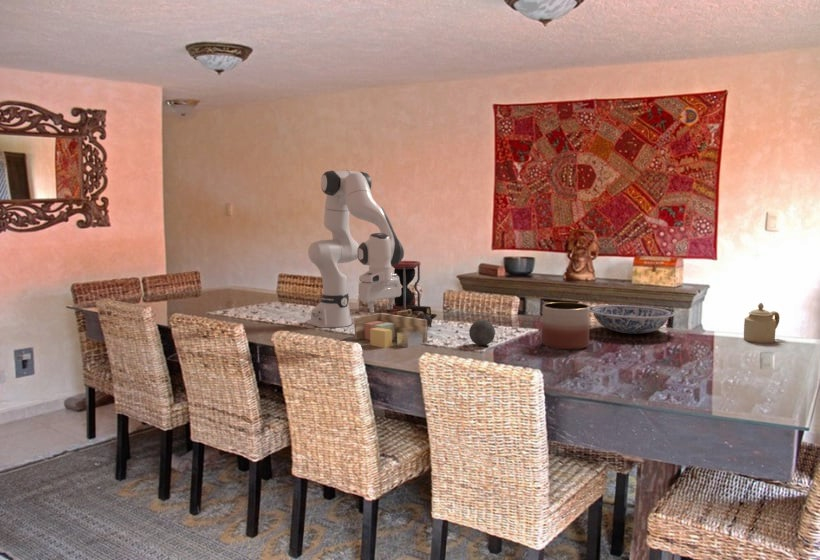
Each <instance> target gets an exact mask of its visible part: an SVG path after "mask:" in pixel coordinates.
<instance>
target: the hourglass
mask: <svg viewBox="0 0 820 560" xmlns="http://www.w3.org/2000/svg"><path fill="white" fill-rule="evenodd" d="M391 266H392V269H394V270H393V274H397V275H398V276H399V280H400V284H401V296H400V297H395V300H394V304H393V305H392V306H393V308H392V309H390V310H389V309H388V310H389V312H390V313H393V312H396V311H397V309H403V310H406V306H409V305H411V306H421V293H420V291H419V289H418V284H419V282H420V280H421V262H420V261H415V260H401V261H400V262H399V263H398V264H397V265H391ZM416 268H417V280H416V282H414V286H413V288H414V290H415V291H416V292H417V304H416V296H415V294H414V292H413V291H412V290H411V289H410V288H409V287H408V286H409V285H410V283H411V282H413V280H414V278H415V276H416Z"/></svg>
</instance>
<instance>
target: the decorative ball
mask: <svg viewBox="0 0 820 560" xmlns="http://www.w3.org/2000/svg"><path fill="white" fill-rule="evenodd" d="M468 333H469V339H471V341H472V342H473V344H475V345H476V346H477V345H478V346H481V345H483V346H486V345H489V344H490V343H491V342H493V340H494V338H495V336H496V329H495V327H494V325H493V324H492V323H491V322H490V321H488V320H485V319H479V320H476V321H474V322H473V323H472V324H471V325H470V328H469V332H468Z"/></svg>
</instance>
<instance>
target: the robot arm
mask: <svg viewBox="0 0 820 560" xmlns="http://www.w3.org/2000/svg"><path fill="white" fill-rule="evenodd" d="M320 186H321V187H320V188H321V190H322V192H323V194H325V203H324V216H323V219H324V220H323V225H324V227H325V228H326V230H327V231H330V232H331V235H332V236H331V237H332V238H331V239H322V240H321V239H320V240H318V241H314V242H312V243H311V244H309V247H308V249H307V254H308V258H309V260H310V261H311V263H312V264H314V265H315V266H316V267H317V269H318V271H319V272H320V275H321V280H322V295H319V297H318V298H319V299H320V302H319V303H318V304H317V305H316V306H314V308H313V309H311V311H310V312H311V313H310V319H307V320H305V324H307V325H310V326H311V325H312V326H314V327H317V328H342V327H348V326H350V325H352V324H353V323H352V322H353V319H351V309H350V304H349V301H350V298H349V297H350V296H349V293H348V278H347V275H346V274H344V272H341V271H340V269H339V266H338V264H346V263H350V262H354V261H356V260H358V261H359V263H361V265H364V266H368V271H366V272H365V273H363V274H361V275H360V276H359V280H358V281H359V282H360V283H359V286H358V298H359V300H360V302H362V303H366V305H367V306H368V308H369V313H370V314H371V313H372V314H375V313H377V312H376V309H377V307H375V306H374V305H373V304H374V303H375V302H376V301H380V300H388V304H386V310H390V309H392V308H393V306H394V304H395V297H400V296H401V288H402V285H401V284H400V280H399V276H398V275H397V274H394V273H392V272H393V267H392V266H391V265H397V264H398V263H399V262H400V261H403V258H404V256H405V251H404V247H403V244H402V243H401V242H400V240H399V239H398V236H397V235H396V233H395V230H394V228H393V226H392V223H391V221H390V219H389V217H388V215H387V213H386V210H384V208H383V207H382V206H380V205H379V204H378V203H377V202H376V201H375V199H374V197H373V194H372V179H371V177H370V174H368V173H366V172H363V171H357V170H327V171H325V172H324V173H322V176H321V179H320ZM350 214H351V216H352V217H355V218H356V219H359V220H362V221H366V222H368V223H371V224H373V225H375V226H376V227H377V228H378V229H379V231H380V232H374V233H371V234H369V237H368V239H367V240H366V241H363V242H361V243H360V244H359V243H358V242H357V241H356V240H355V238H353V235H352V233H351V230H350Z"/></svg>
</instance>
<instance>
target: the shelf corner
mask: <svg viewBox="0 0 820 560" xmlns="http://www.w3.org/2000/svg"><path fill="white" fill-rule="evenodd" d="M374 321H383V322H385V323H386V322H389V323H395V338H397V333H399V332H405V331H410V330H414V331H419V332H423V343H425V342H426V343H428V328H427V320H424V319H418V318H411V317H405V316H398V315H391V314H389V313H386V312H385V313H383V312H378V313H377V312H376V313H372V314H369V315H363V316H357V317H354V340H356V341H358V340H363V339H365V335H364V323H369V322H374Z"/></svg>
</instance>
